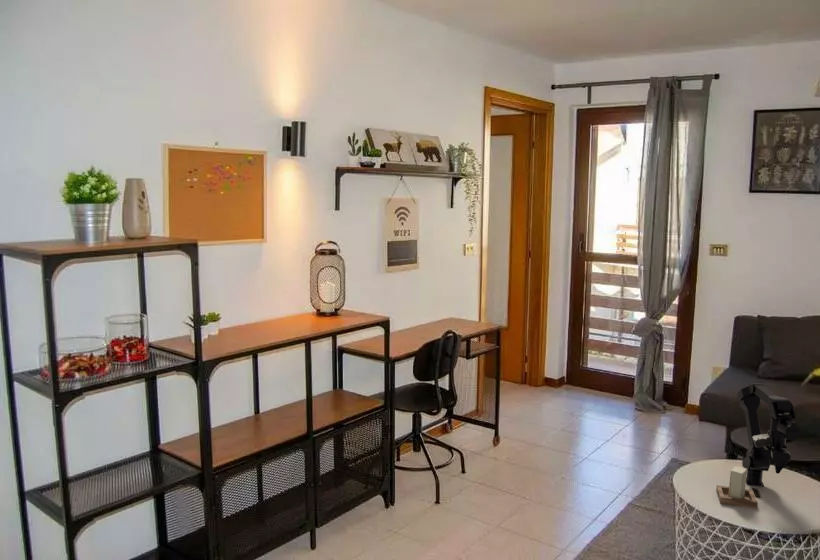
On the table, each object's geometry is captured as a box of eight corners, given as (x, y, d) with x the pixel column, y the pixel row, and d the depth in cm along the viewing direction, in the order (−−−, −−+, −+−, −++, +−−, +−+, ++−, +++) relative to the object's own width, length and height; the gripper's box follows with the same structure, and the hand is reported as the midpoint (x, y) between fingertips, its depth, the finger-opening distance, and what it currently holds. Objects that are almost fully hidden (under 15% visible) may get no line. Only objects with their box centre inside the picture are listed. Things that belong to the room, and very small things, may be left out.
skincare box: (733, 493, 261) (735, 465, 259) (745, 497, 258) (747, 468, 256) (727, 499, 257) (730, 469, 255) (739, 503, 254) (742, 473, 252)
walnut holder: (716, 490, 265) (716, 485, 264) (751, 495, 261) (752, 489, 260) (720, 503, 254) (720, 497, 254) (757, 508, 250) (757, 502, 250)
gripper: (750, 419, 265) (747, 456, 267) (759, 436, 247) (756, 475, 249) (781, 422, 261) (778, 460, 264) (793, 440, 244) (789, 479, 246)
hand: (774, 468), depth 256 cm, fingers open, 9 cm apart
